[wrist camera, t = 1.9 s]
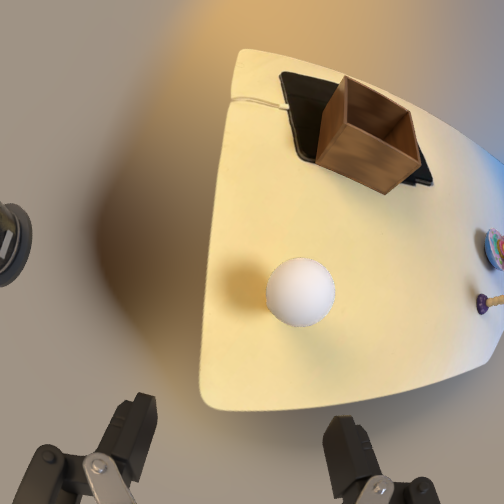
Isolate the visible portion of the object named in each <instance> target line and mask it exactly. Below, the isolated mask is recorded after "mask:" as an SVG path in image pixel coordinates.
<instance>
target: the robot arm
mask: <svg viewBox="0 0 504 504" xmlns="http://www.w3.org/2000/svg"><path fill="white" fill-rule="evenodd" d="M21 240H22V227H21V223H20V220H19V218H18V217H17V215H16V214H15V213H13V212H12V211H11V210H9V209H8V208H7V207H6V206H4V205H3V204H2V203H1V202H0V275H2V274H4V273H5V272H6V271H7V270H8V269H9V268H10V267H11V266H12V264H13V263H14V261H15V259H16V257H17V255H18V252H19V249H20V245H21ZM156 408H157V407H156V399H155V396H151V395H147V394H144V393H140V392H139V393H138V394H137V395H136V397H135V399H134V402H131V401H128V400H125V401H124V402H123V403H121V404H120V405H119V406H118V407H117V409H116V411H115V413H114V415H113V417H112V419H111V421H110V424H109V425H108V427H107V429H106V431H105V433H104V436H103V437H102V440H101V442H100V444H99V446H98V448H97V449H96V451H95V452H93V453H91V454H89V455H86V456H77V455H70V454H64V453H62V452H61V450H60V449H58V448H57V447H55V446H53V445H50V444H45V445H42V446H40V447H39V448H38V449H37V450H36V452H35V454H34V456H33V458H32V460H31V462H30V464H29V466H28V468H27V470H26V472H25V475H24V477H23V479H22V481H21V484H20V486H19V488H18V491H17V493H16V495H15V498H14V500H13V503H12V504H80V502H81V498H82V495H88V496H94V498H95V500H96V503H97V504H137V503H136V501H135V499H134V497H133V496H132V494H131V492H130V490H129V487H130V484H131V481H135V482H139V479H140V476H141V473H142V470H143V466H144V463H145V460H146V457H147V454H148V451H149V448H150V444H151V441H152V438H153V435H154V432H155V429H156V425H157V419H158V416H157V409H156ZM323 448H324V453H325V457H326V462H327V466H328V471H329V476H330V481H331V485H332V490H333V495H334V499H337V498H343V503H342V504H440V501H439V498H438V496H437V493H436V490H435V487H434V485H433V482H432V481H431V480H430V479H428V478H426V477H418V478H416V479H414V480H413V481H412V482H411V483H404V482H403V483H401V482H393V481H392V480H391V479H390V478H388V477H386V476H384V475H383V474H382V473H381V470H380V467H379V464H378V462H377V459H376V456H375V453H374V451H373V449H372V445H371V443H370V440H369V437H368V435H367V432H366V431H365V430H364V429H363V428H362V426H360V425H355V423H354V420H353V417H352V416H351V415H343V416H334V418H333V419H332V421H331V423H330V424H329V426H328V428H327V430H326V432H325V433H324V436H323Z"/></svg>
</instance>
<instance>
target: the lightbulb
mask: <svg viewBox="0 0 504 504" xmlns="http://www.w3.org/2000/svg"><path fill="white" fill-rule="evenodd" d="M266 299H267V300H266V304H267V307H268V309H269V310H270V311H271V312H272V313H273V314H274V315H275V317H276V318H278V319H279V320H280V321H282V322H283V323H285V324H287V325H290V326H294V327H306V326H311V325H313V324H316V323H317V322H319V321H320V320H322V319H323V318H324V317H325V316H326V315H327V314H328V312H329V311H330V309H331V307H332V305H333V303H334V299H335V285H334V281H333V279H332V276H331V275H330V273H329V271H328V270H327V269H326V268H325V267H324V266H323V265H322V264H320V263H319V262H317V261H315V260H312V259H309V258H293V259H290V260H287V261H285V262H283V263H281V264H280V265H279V266H278V267H277V268H276V269H275V270H274V271H273V272H272V274H271V275H270V277H269V280H268V283H267V287H266Z"/></svg>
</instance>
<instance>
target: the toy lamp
mask: <svg viewBox="0 0 504 504" xmlns="http://www.w3.org/2000/svg"><path fill="white" fill-rule="evenodd" d="M498 304H504V295H500V296H499V297H494V298H487V296H486V295H484V294H480V295H479V296H478V298H477V309H478V312H479V313H480V314H481V315H482V314H484V313H486V312H487V310H488V308H489V307H491V306H493V305H494V306H497V305H498Z"/></svg>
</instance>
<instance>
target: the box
mask: <svg viewBox="0 0 504 504" xmlns="http://www.w3.org/2000/svg"><path fill="white" fill-rule="evenodd" d="M315 164H318V165H320V166H323V167H325V168H327V169H330V170H332V171H334V172H337V173H339V174H341V175H344V176H346V177H348V178H350V179H353V180H355V181H357V182H359V183H361V184H363V185H365V186H368V187H370V188H372V189H374V190H376V191H378V192H380V193H382V194H384V195H386V194H387V193H388V192H390V191H391V190H392V189H393V188H394V187H396V186H397V185H398V184H399V183H401V182H402V181H403V180H404V179H406V178H407V177H408V176H409V175H410V174H412V173H413V172H414V171H415V170H417V169H418V168H419V167H420V166H421V161H420V155H419V150H418V144H417V139H416V135H415V130H414V125H413V121H412V117H411V113H410V111H408V110H407V109H405V108H404V107H402V106H401V105H399V104H397V103H396V102H394V101H392V100H391V99H389V98H387V97H385V96H384V95H382V94H380V93H378V92H377V91H375V90H373V89H371V88H369V87H367V86H365V85H363V84H361V83H360V82H358V81H356V80H353V79H351V78H349V77H347V76H344V77H343V79H342V81H341V82H340V84H339V86H338V87H337V89H336V91H335V92H334V94H333V96H332V97H331V99H330V101H329V102H328V104H327V106H326V108H325V109H324V111H323V113H322V121H321V128H320V135H319V142H318V148H317V155H316V161H315Z"/></svg>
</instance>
